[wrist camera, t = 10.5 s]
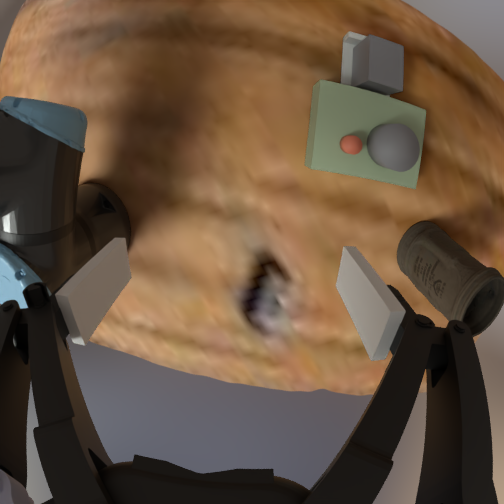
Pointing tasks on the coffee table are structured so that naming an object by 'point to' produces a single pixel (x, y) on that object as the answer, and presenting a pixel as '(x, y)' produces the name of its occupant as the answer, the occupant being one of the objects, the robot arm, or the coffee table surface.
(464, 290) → the beer stein
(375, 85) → the tall grey cuboid
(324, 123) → the green base with dome
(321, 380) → the coffee table surface
